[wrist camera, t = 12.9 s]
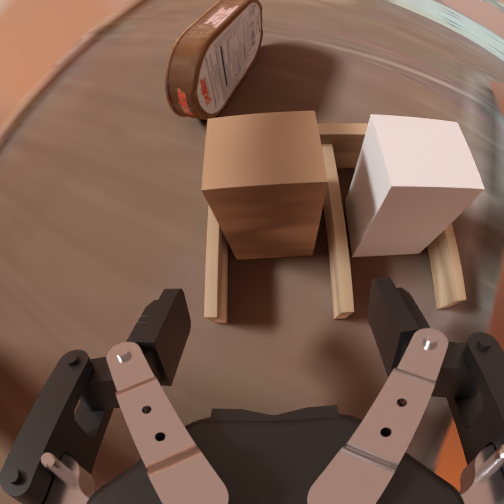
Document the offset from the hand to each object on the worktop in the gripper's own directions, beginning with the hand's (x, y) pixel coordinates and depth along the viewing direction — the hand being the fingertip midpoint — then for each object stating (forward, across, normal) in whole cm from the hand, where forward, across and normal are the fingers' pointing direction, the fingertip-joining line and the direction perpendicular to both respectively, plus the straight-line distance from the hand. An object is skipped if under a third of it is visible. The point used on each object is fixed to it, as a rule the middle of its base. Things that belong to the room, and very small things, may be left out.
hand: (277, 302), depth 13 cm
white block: (+9, -7, 0) cm, 11 cm away
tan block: (+9, 0, 0) cm, 9 cm away
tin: (+20, +3, -11) cm, 23 cm away
